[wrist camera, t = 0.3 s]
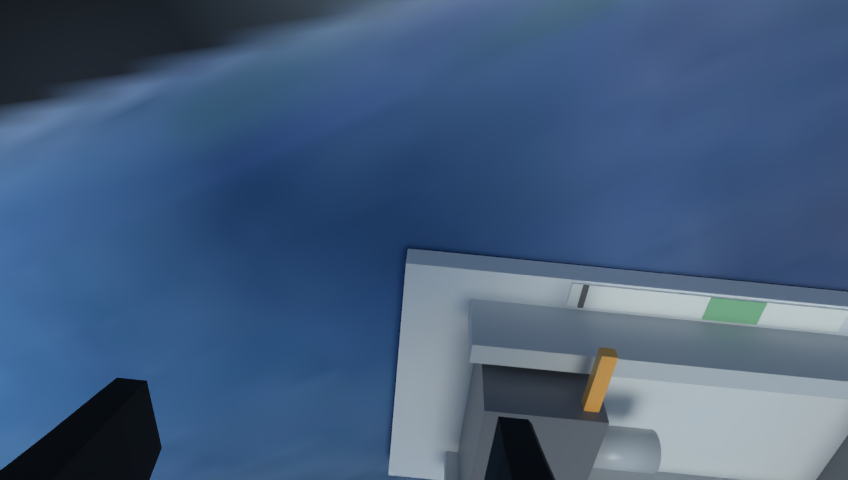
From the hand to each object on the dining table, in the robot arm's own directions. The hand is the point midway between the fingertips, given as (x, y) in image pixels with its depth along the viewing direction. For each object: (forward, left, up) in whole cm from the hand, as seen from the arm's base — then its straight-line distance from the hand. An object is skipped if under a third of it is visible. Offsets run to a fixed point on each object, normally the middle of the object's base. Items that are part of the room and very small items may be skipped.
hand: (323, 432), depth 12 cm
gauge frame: (-8, -12, -10) cm, 18 cm away
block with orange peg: (-6, -8, -9) cm, 13 cm away
